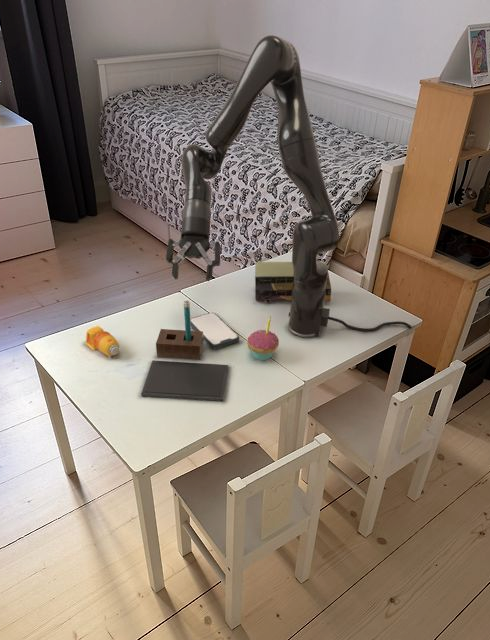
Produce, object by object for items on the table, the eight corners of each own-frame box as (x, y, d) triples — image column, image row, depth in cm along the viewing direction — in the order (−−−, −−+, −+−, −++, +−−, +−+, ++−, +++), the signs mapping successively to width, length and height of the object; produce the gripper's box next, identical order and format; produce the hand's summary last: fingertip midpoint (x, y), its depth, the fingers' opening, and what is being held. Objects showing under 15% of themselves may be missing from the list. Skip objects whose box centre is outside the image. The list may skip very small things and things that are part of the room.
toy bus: (330, 305, 167) (332, 276, 161) (255, 305, 168) (255, 276, 161) (327, 288, 175) (329, 260, 169) (255, 289, 175) (255, 261, 169)
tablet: (228, 367, 142) (227, 364, 142) (222, 401, 132) (222, 398, 131) (152, 362, 143) (152, 359, 142) (141, 396, 132) (141, 393, 132)
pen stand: (203, 344, 150) (203, 331, 147) (200, 359, 144) (199, 346, 141) (162, 342, 150) (160, 328, 147) (157, 357, 145) (155, 343, 142)
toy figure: (125, 355, 145) (101, 336, 151) (123, 338, 141) (98, 319, 148) (108, 363, 142) (84, 343, 148) (105, 347, 138) (80, 326, 145)
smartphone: (187, 323, 158) (212, 351, 147) (186, 319, 157) (212, 346, 146) (214, 315, 162) (240, 342, 151) (213, 311, 161) (240, 337, 150)
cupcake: (264, 342, 151) (266, 306, 144) (284, 357, 146) (287, 320, 139) (240, 353, 147) (241, 316, 139) (260, 369, 142) (261, 331, 134)
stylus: (192, 349, 148) (189, 300, 138) (191, 353, 146) (189, 303, 136) (187, 349, 148) (184, 300, 138) (186, 352, 147) (183, 303, 137)
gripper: (223, 227, 148) (219, 285, 147) (172, 224, 149) (167, 282, 147) (221, 216, 141) (217, 277, 140) (167, 213, 141) (162, 273, 140)
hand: (191, 279), depth 143 cm, fingers open, 8 cm apart
